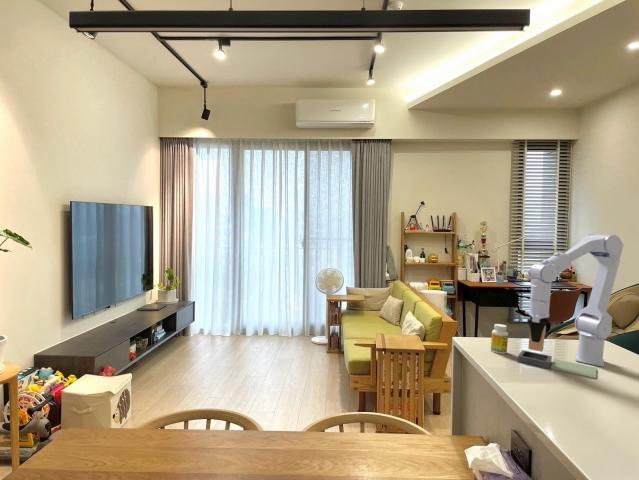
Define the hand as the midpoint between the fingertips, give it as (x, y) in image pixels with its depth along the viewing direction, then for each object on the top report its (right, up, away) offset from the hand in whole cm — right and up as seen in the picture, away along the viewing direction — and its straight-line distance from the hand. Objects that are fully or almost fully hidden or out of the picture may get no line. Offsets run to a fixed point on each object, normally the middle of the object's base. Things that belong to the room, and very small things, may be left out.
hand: (536, 340), depth 134 cm
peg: (0, -3, 0) cm, 3 cm away
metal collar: (0, -7, 0) cm, 7 cm away
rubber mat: (+10, -8, -4) cm, 13 cm away
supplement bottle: (-8, -7, +10) cm, 14 cm away
